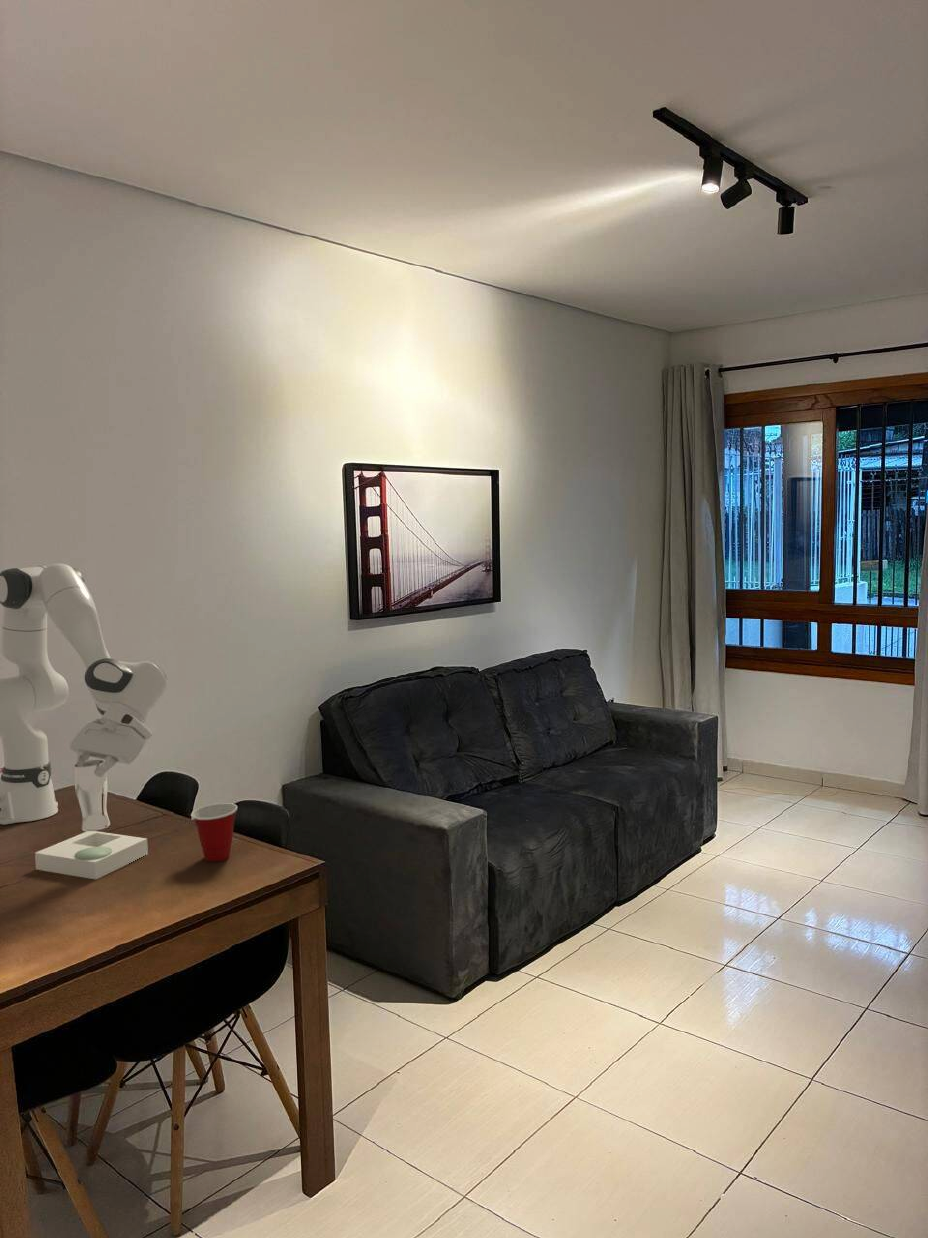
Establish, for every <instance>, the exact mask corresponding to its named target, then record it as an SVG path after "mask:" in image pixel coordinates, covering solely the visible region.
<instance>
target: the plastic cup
mask: <svg viewBox="0 0 928 1238" xmlns="http://www.w3.org/2000/svg"><path fill="white" fill-rule="evenodd" d="M237 810H238V805H237V804H235V803H229V802H222V803H221V802H220V803H212V804H209V805H204V806H201V807H199V808H195V810H193V811H192V812H191V814H190V817H191V818H193V820H194V823H195V826H196V829H197V832H198V837H199V842H200V845H201V849H202V853H203V856H204V859H205V860H206V861H207V862H214V861H215V862H221V861H225V860H228V859H229V858H228V857H230V855H231V849H232V848H231V846H232V842H233V834H234V827H235V825H234V824H235V821H236V819H235V818H236V812H237ZM215 862H214V863H215Z"/></svg>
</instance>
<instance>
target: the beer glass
mask: <svg viewBox="0 0 928 1238" xmlns="http://www.w3.org/2000/svg"><path fill="white" fill-rule="evenodd" d="M104 762H105V760H104V759H91V760H90V759H88V760H85V761H84V762H80V763H77V764H76V763H74V764H73V766H72V768H73V767H74V769H73V782H74V790H75V793H76V798H77V800H78V803H79V807H80V810H81V814H82V815H81V816H82V823H81V824H82V825H81V830H82V831H84V832H87V831H99V830H104V829H106V828H108V827H110V826H111V821H110V818H109V814H108V811H107V801H108V800H107V799H108V798H107V797H108V778H107V771H106V772H105V774H104V775H103V776H102V777H99V776H97V775H96V774H95V773H94V771H95V770H96V769H97V767H98V766H99V767H100V765H102V764H103V763H104Z"/></svg>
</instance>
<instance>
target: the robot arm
mask: <svg viewBox="0 0 928 1238" xmlns="http://www.w3.org/2000/svg"><path fill="white" fill-rule="evenodd" d="M91 594H92V593H91V592H90V590H89V588H88V586H87V585H86V583H85V579H84V577H83V574H82V573H81V571H79V569H77V568H74V567H72V566H71V565H69V564H65V563H62V562H61V563H53V564H50V565H39V566H30V567H29V566H28V567H22V568H17V567H14V568H13V567H12V568H7V569H4V570H2V571H1V572H0V604H1V606H2V607H3V614H2V624H1V626H2V627H1V628H2V629H1V653H2V655H3V657H4V658H5V659H6V661H8V662H10V663H12V664H15V665H17V667H18V671H19V672H18V673H19V674H18V675H17V676H12V677H6V678H0V739H1V743H2V751H3V758H4V759H3V763H4V766H3V767H1V768H0V773H1V774H0V825H9V824H16V823H25V822H32V821H39V820H42V819H46V818H49V817H51V816H54V815H55V814H57V813H58V812H59V808H58V806H59V804H58V803H59V802H58V801H57V800H56V797H55V796H56V795H55V790H54V786H53V785H54V784H53V780H52V778H51V775H52V766H51V761H49V759H50V757H49V743H48V736H47V734H45V732H44V731H42V730H41V729H39V728H36V727H33V726H32V725H31V723H30V719H29V715H34V714H35V715H36V714H39V713H44V712H48V711H49V712H50V711H51V710H54V709H56V708H58V707H60V706H63V705H64V704H65V703H66V701H67V700H68V697H69V693H70V692H69V691H70V690H69V684H68V682H67V681H66V679H65V678H64V676H63V675H61V674H60V673H58V672H57V671H56V670H55V669H54V667H53V666H52V663H51V662H50V659H49V654H48V616H49V617H50V619H51V621H52V622H53V624H54V625H55V626H56V628H57V629H58V630H59V632H61V634H62V635H63V636H64V637H65V639H66V640H67V641H68V643H69V644H70V646H72V648H73V649H74V650H75V651H76V653H77V654H78V655H79V657H80V659H81V660H82V662H83V663H84V666H85V668H86V671H85V673H84V682H85V685H86V688H87V690H88V692H89V693H90V695H91V698H92V700H93V701H94V703H95V706H96V709H97V712H98V713H99V714H100V715H101V718H97V719H95V720H92V721H90V722H88V723H86V724H85V725H84V726H83V727H82V728H81V729H80V730H79V732H78V733H77V734H76V735H75V736H74V738H73V739H72V740H71V741H70V746H69V747H70V749H71V750H72V751H74V753H76V754H77V758H76V762H75V764H77V763H80V762H84V761H89V758H96V759H98V760H104V763H103V764H102V765H100V767H99V766H98V767H97V769H96V770H95V771H94V773H95V774H96V775H97V776H99V777H102V776H103V775H104V774H105V772H106V773H107V772H108V771H109V770H110V769H111V768H113V767H115V765H116V763H120V764H125V765H130V764H132V763H133V762H134V761H135V760H136V759H137V758H138V756H139V755H140V753H141V752H142V750H143V749H144V747H145V745H146V742H147V741H148V740H149V739H150V738H151V737H152V735H153V732H152V731H151V730H150V729H149V728H148V727H147V726H146V725H145V724H144V723H145V722H146V720H147V717H148V715H149V714H150V712H151V711H153V709H154V708H156V706H157V704H158V703H159V702H160V700H161V698H162V696H163V694H164V692H165V691H166V688H167V687H168V684H169V683H168V677H167V675H166V674H165V671H164V670H163V669H162V668H161V667H159V666H158V665H157V664H155V662H152V661H150V660H142V661H139V662H138V661H137V662H129V661H128V662H127V661H120V660H116V659H114V658H112V657H111V656H110V654H109V652H108V649H107V646H106V644H105V643H106V642H105V641H104V636H103V632H102V628H101V623H100V619H99V616H98V615H99V614H98V611H97V607H96V604H95V602H94V598H93V596H92V595H91ZM72 770H74V767H73V766H72Z"/></svg>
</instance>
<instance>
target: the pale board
mask: <svg viewBox="0 0 928 1238" xmlns="http://www.w3.org/2000/svg"><path fill="white" fill-rule="evenodd" d="M148 843H149V842H148V838H145V837H140V836H139V837H138V836H131V835H125V834H120V833H119V834H118V833H111V832H104V831H99V830H96V831H84V832H82V833H80V834H76V835H75V836H73V837H70V838H67V839H65V840H63V841H60V842H58V843H56V844H52V845H50V846H49V847H45V848H43V849H40V850H38V851H36V852H35V853H34V855H35V856H34V859H35V860H34V861H35V870H39V871H43V872H48V873H54V874H60V875H66V876H73V877H80V878H85V879H90V880H98V879H100V878H103V877H105V876H107V875H109V874H110V873H113V872H115V871H117V870H119V869H121V868H123V867H125V866H128V865H129V863H130V864H131V862H132V863H133V861H134V862H136V861H138V860H140V859H142V858H144V857H146V856H148V855H149V849H148V848H149V847H148V846H149V845H148ZM145 855H146V856H145ZM143 856H144V857H143ZM141 857H142V858H141ZM139 858H140V859H139ZM137 859H138V860H137ZM135 860H136V861H135Z"/></svg>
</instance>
